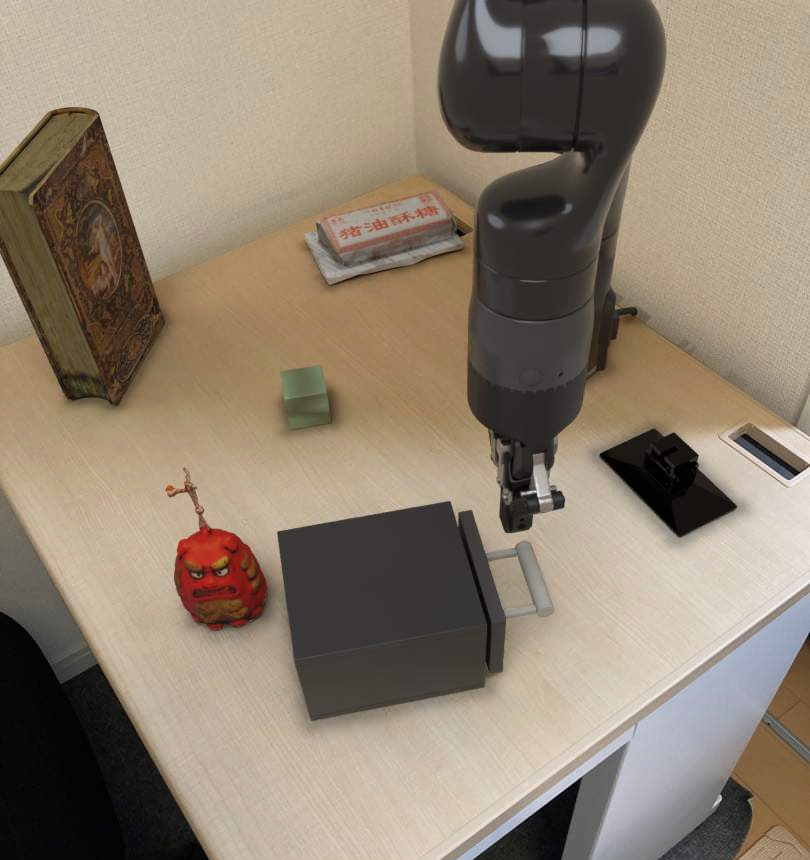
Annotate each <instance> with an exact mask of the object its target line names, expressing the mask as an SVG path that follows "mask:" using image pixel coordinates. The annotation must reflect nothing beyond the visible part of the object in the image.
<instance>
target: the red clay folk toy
mask: <svg viewBox="0 0 810 860" xmlns="http://www.w3.org/2000/svg"><path fill="white" fill-rule="evenodd" d="M182 470H183V472H184V473H185V476H184V478H185V481H184V482H183V485H184V488H175V487H174V486H173V485H172V484H168V485H166V487H165V492H166V494H167V497H168V498H174V497H175V496H177V495H178V494H185V493H187V494H188V495H189V497H190V500H191V501H192V503H193V505H194V507H195V509H194V512H195V514H197V515H198V528H199V530H198V531H196V532H194V533H193V534H191V535H189V536H188V538H182V539H180V540H179V541H178V543H177V547H176V557H175V561H174V571H173V581H174V585H175V590H176V593H177V595H178V597H179V598H180V601H181V605H182V607H183V608H184V609H185V610H186V611H187V612H188V613H189V615H190V617H191V618H192V620H193V621H194V622H195V623H197V624H200V625H201V624H202V625H205V626H206V627H207V628H208V629H209V630H212V631H218V630H220V629H221V630H222V629H223V628H224V627H225V626H230V627H232V628H239V627H243V626H244V625H246V624H247V623H249V622H250V621H253V620H256V619H258V618H259V617H260V616H261V615H262V613H263V612H264V605H265V601H266V596H267V592H268V581H267V579H266V577H265V574H264V572H263V571H262V568H261V565H260V563H259V560H258V559H257V558H256V556H255V555H254V552H252V549H251V547H250V546H249V545H248V544H247V543H244V542H243V540H242V539H241V538H240V537H239V536H238V535H237V534H236V533H234V532H230V531H227V530H225V529H222V528H216V527H215V528H214V527H213V528H212V527H211V526H210V525H209V524H208V522H207V521H206V519H205V517H204V516H203V515H204V512H205V508H204V507H203V505H200V504H199V499H198V495H197V492H196V490H197V489H198V487H197V486H195V485H194V483H193V482H192V481H191V473H190V471H189V469H188V468H187V467H183V468H182Z"/></svg>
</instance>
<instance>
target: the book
mask: <svg viewBox="0 0 810 860" xmlns="http://www.w3.org/2000/svg"><path fill="white" fill-rule="evenodd" d="M124 191H125V190H124V188H123V186H122V182H121V178H120V176H119V172H118V169H117V166H116V163H115V160H114V157H113V153H112V150H111V147H110V144H109V141H108V137H107V134H106V132H105V128H104V125H103V122H102V119H101V115H100V113H99V112H98V111H97V110H95V109H92V108H88V107H82V106H69V107H61V108H56V109H52V110H50V111H48V112H46V113H45V115H44V116H43V117H42V118H41V119H40V120H39V121H38V123H37V124H36V125H35V126H34V127H33V129H31V131H30V132H29V133H28V134H27V135H26V136H25V137H24V138H23V140H22V141H21V142H20V143H18V145H17V146H16V148H14V150H13V151H11V153H10V154H9V155H8V156H7V158H6V159H4V161H3V162H2V163H1V164H0V257H1V259H2V261H3V264H4V266H5V268H6V270H7V272H8V274H9V277H10V279H11V281H12V283H13V285H14V288H15V290H16V293H17V294H18V296H19V299H20V301H21V303H22V305H23V308H24V310H25V312H26V314H27V317H28V318H29V321H30V323H31V326H32V327H33V329H34V332H35V335H36V336H37V338H38V341H39V342H40V345H41V347H42V349H43V352H44V354H45V356H46V358H47V360H48V363H49V364H50V367H51V369H52V371H53V374H54V376H55V378H56V380H57V383H58V385H59V388H60V389H61V391H62V393H63V394H64V396H65V398H66V399H67V400H70V401H74V400H76V399H81V398H84V397H97V398H102V399H105V400H107V401H108V402H109V404H111V405H115V406H117V405H118V404H119V403H120V401H121V400H122V398H123V396H124V395H125V394H126V391H127V390H128V388H129V386H130V384H131V383H132V381H133V379H134V378H135V376H136V374H137V372H138V371H139V369H140V367H141V365H142V363H143V362H144V360H145V359H146V357H147V355H148V353H149V351H150V349H151V348H152V346H153V344H154V343H155V341H156V339H157V337H158V335H159V334H160V332H161V330H162V329H163V327H164V325H165V323H166V322H165V321H166V320H165V318H164V315H163V312H162V308H161V306H160V302H159V299H158V296H157V292H156V290H155V286H154V283H153V280H152V277H151V274H150V270H149V268H148V264H147V262H146V258H145V255H144V253H143V252H144V251H143V249H142V245H141V242H140V239H139V236H138V232H137V230H136V226H135V223H134V220H133V217H132V214H131V211H130V207H129V204H128V201H127V198H126V195H125V192H124Z"/></svg>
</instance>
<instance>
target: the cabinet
mask: <svg viewBox="0 0 810 860" xmlns="http://www.w3.org/2000/svg"><path fill="white" fill-rule="evenodd" d="M276 534H277V542H278V549H279V550H278V551H279V557H280V565H281V566H280V567H281V573H282V580H283V587H284V596H285V604H286V611H287V617H288V618H287V620H288V625H289V632H290V634H289V635H290V641H291V649H292V655H293V662H294V665H295V669H296V674H297V676H298V677H297V678H298V680H299V684H300V687H301V691H302V696H303V699H304V702H305V706H306V709H307V714H308V717H309V720H310V721H311V722H315V721H319V720H324V719H329V718H334V717H339V716H344V715H345V716H346V715H350V714H354V713H360V712H365V711H370V710H375V709H380V708H385V707H391V706H396V705H400V704H406V703H411V702H415V701H416V702H417V701H421V700H428V699H431V698H432V699H433V698H437V697H443V696H447V695H452V694H457V693H463V692H468V691H473V690H478V689H483V688H485V684H486V683H485V681H486V638H487V622H486V619H485V615H484V612H483V609H482V605H481V602H480V599H479V595H478V592H477V588H476V585H475V582H474V578H473V575H472V572H471V568H470V565H469V562H468V558H467V555H466V551H465V548H464V545H463V541H462V538H461V535H460V531H459V528H458V520H457V518H456V515H455V512H454V508H453V505H452V501H451V500H446V501H441V502H436V503H430V504H424V505H418V506H413V507H407V508H403V509H395V510H391V511H385V512H379V513H374V514H373V513H372V514H368V515H362V516H361V515H360V516H356V517H351V518H345V519H339V520H334V521H328V522H323V523H317V524H311V525H306V526H305V525H304V526H300V527H294V528H288V529H283V530H278V531H277V532H276Z"/></svg>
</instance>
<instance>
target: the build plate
mask: <svg viewBox="0 0 810 860" xmlns="http://www.w3.org/2000/svg"><path fill="white" fill-rule="evenodd" d="M699 457H700V455H699V453H697V452H696V450H694V449H693V448H692V447H691V446H690V445H689V444H688V442H687V443H686V441H684V440H683V439H682V438H681V436H679V435H678V433H676V432H671V433H669V434H666V435H664V434H663V433H662V432H660V431H659V430H658V429H656V428H651V429H649V430H647V431H645V432H643V433H641V434H639V435H636V436H634V437H632V438H630V439H627V440H626V441H623V442H621V443H619V444H617V445H614V446H613V447H611V448H608V449H606V450H604V451H602V452H600V453H599V458H600V460H601V461H603V463H604V464H605V465H606V466H607V467H609V469H611V471H612V472H613V473H614V474H615V475H616V476H617V477H618V478H619V479H620V480H621V481H622V482H623V483H624V484H625V485H626V486H627V487H628V488H629V489H630V490H631V491H632V492H633V494H635V495H636V496H637V497H638V498H639V500H640V501H641V502H643V504H645V506H646V507H648V509H649V510H650V511H651V512H652V513H653V514H654V515H655V516H656V517H657V518H658V519H659V520H660V521H661V523H663V524H664V525H665V526H666V527H667V528H668V530H670V531H671V532H672V533H673V535H675V537H677V538H678V539H682V538H683V537H685V536H687V535H689V534H691V533H693V532H695V531H697V530H699V529H701V528H703V527H705V526H707V525H709V524H711V523H713V522H715V521H717V520H719V519H721V518H723V517H724V516H726V515H729V514H731V513H733V512H735V511H736V510H737V509H738V505H737V504H736V503H735V502H734V501H733V500H732V499H731V498H730V497H729V496H728V495H727V494H725V492H724V491H722V490H721V489H720V488H719V486H717V485H716V484H715V483H714V482H713V481H712V480H711V479H710V478H708V476H706V475H705V474H704V473H703V472H702V471H701V470H700V469H699V467H700V463H699V462H698V461H699Z"/></svg>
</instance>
